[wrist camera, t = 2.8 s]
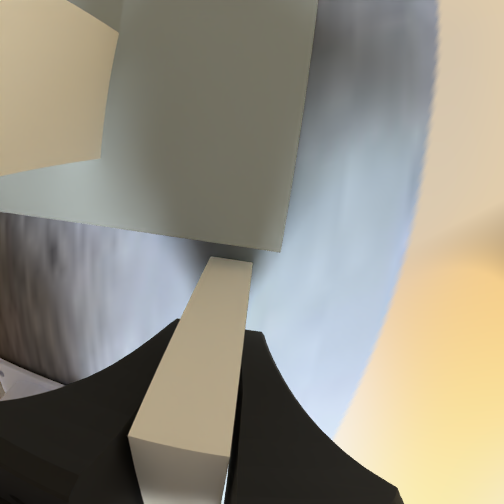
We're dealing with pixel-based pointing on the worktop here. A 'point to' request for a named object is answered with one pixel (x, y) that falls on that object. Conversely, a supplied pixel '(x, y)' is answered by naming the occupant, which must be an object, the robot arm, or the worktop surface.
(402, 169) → the worktop surface
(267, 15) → the board
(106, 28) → the domino
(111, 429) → the robot arm
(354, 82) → the worktop surface
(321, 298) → the worktop surface
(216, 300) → the head domino
